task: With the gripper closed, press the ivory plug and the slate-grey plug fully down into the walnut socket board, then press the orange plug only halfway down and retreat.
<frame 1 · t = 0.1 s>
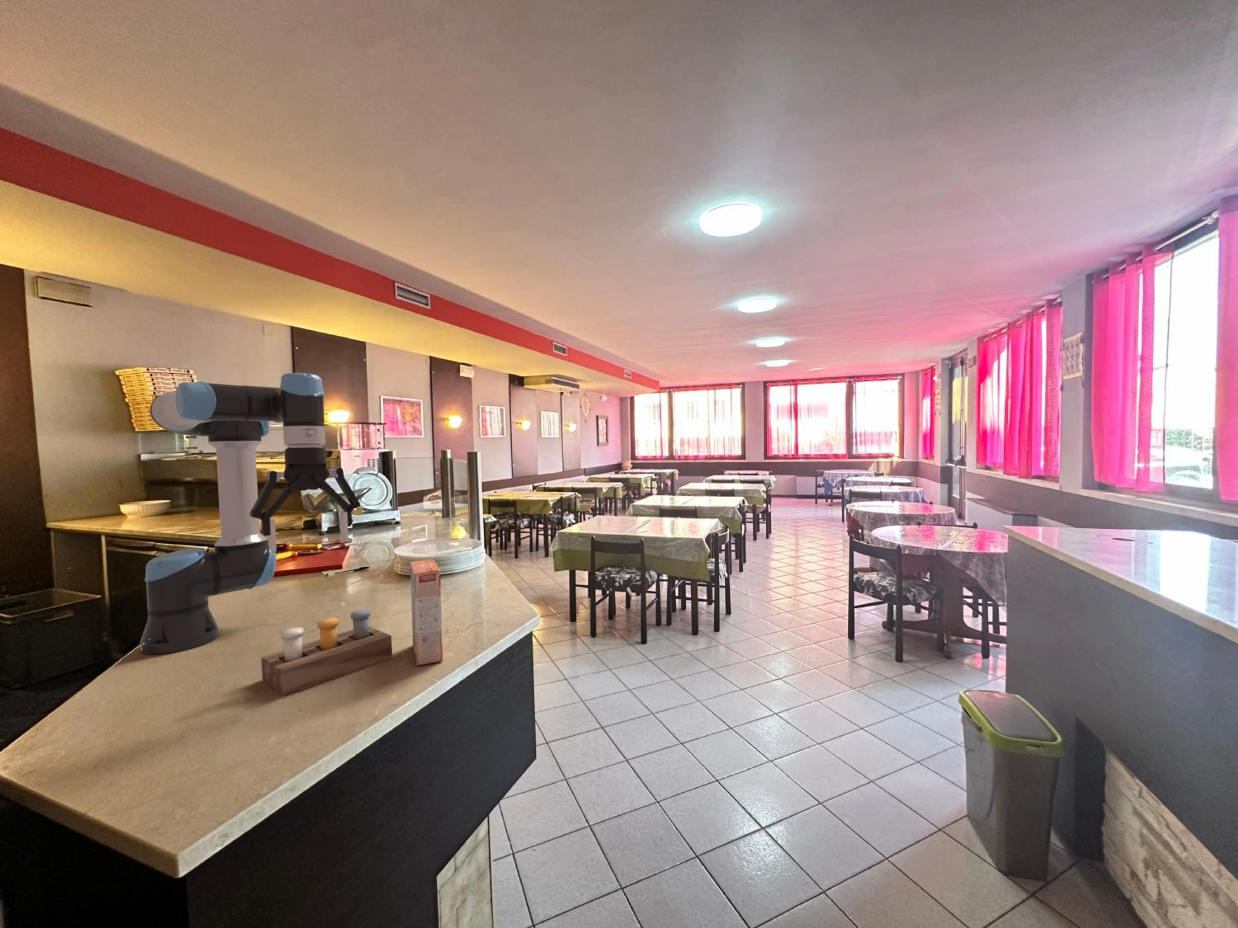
hand: (310, 545, 107), 28 cm above the counter, fingers open, 13 cm apart
orange plug: (328, 636, 110), point 7 cm above the counter, slide at 0.0 cm
socket board: (330, 667, 110), on the counter
ivory plug: (293, 647, 105), point 7 cm above the counter, slide at 0.0 cm
cracker box: (427, 653, 117), on the counter
slate plug: (361, 627, 116), point 7 cm above the counter, slide at 0.0 cm
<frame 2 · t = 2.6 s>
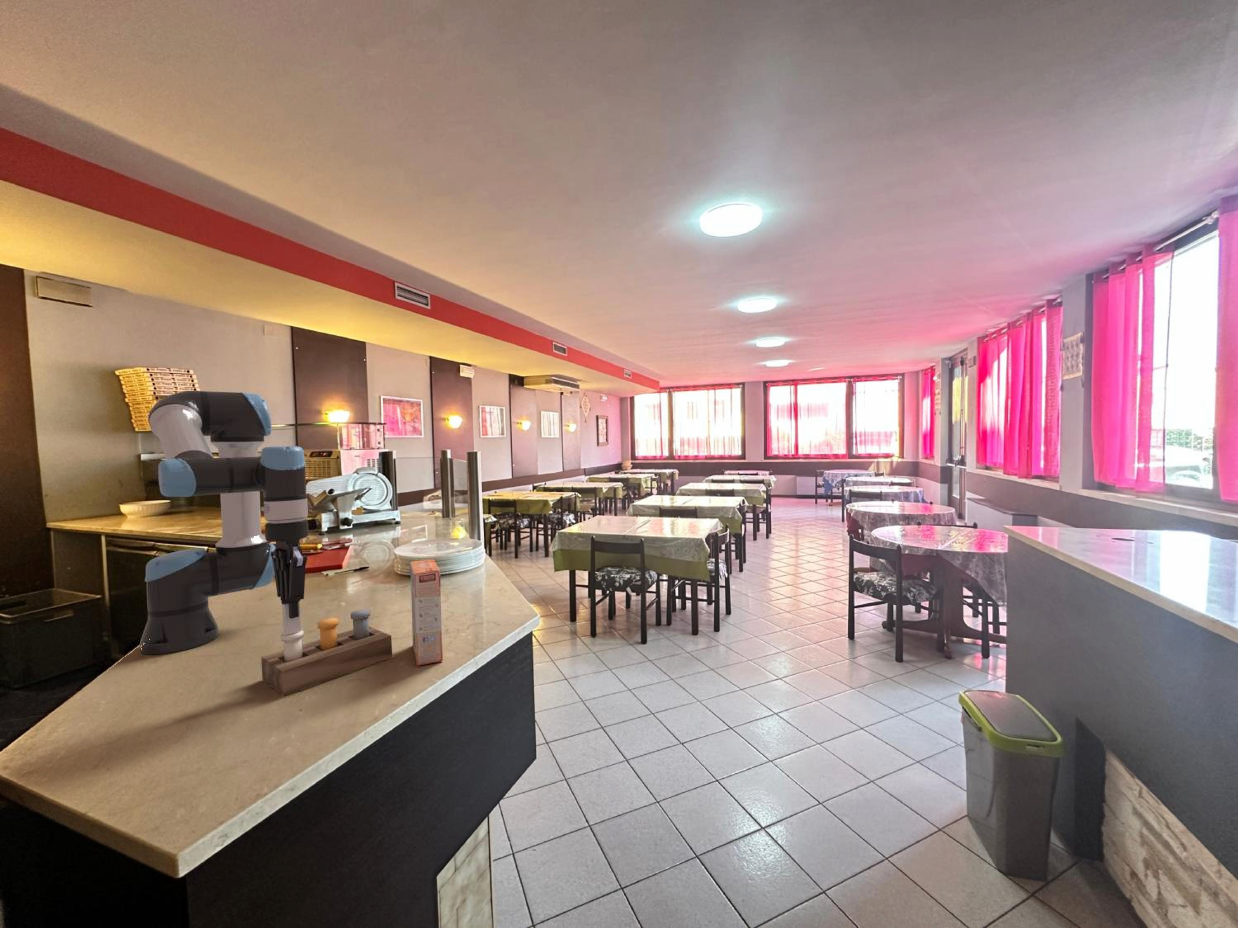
hand: (292, 631, 104), 10 cm above the counter, fingers closed
ivory plug: (293, 649, 105), point 7 cm above the counter, slide at 0.5 cm, touching gripper
everything else where it was.
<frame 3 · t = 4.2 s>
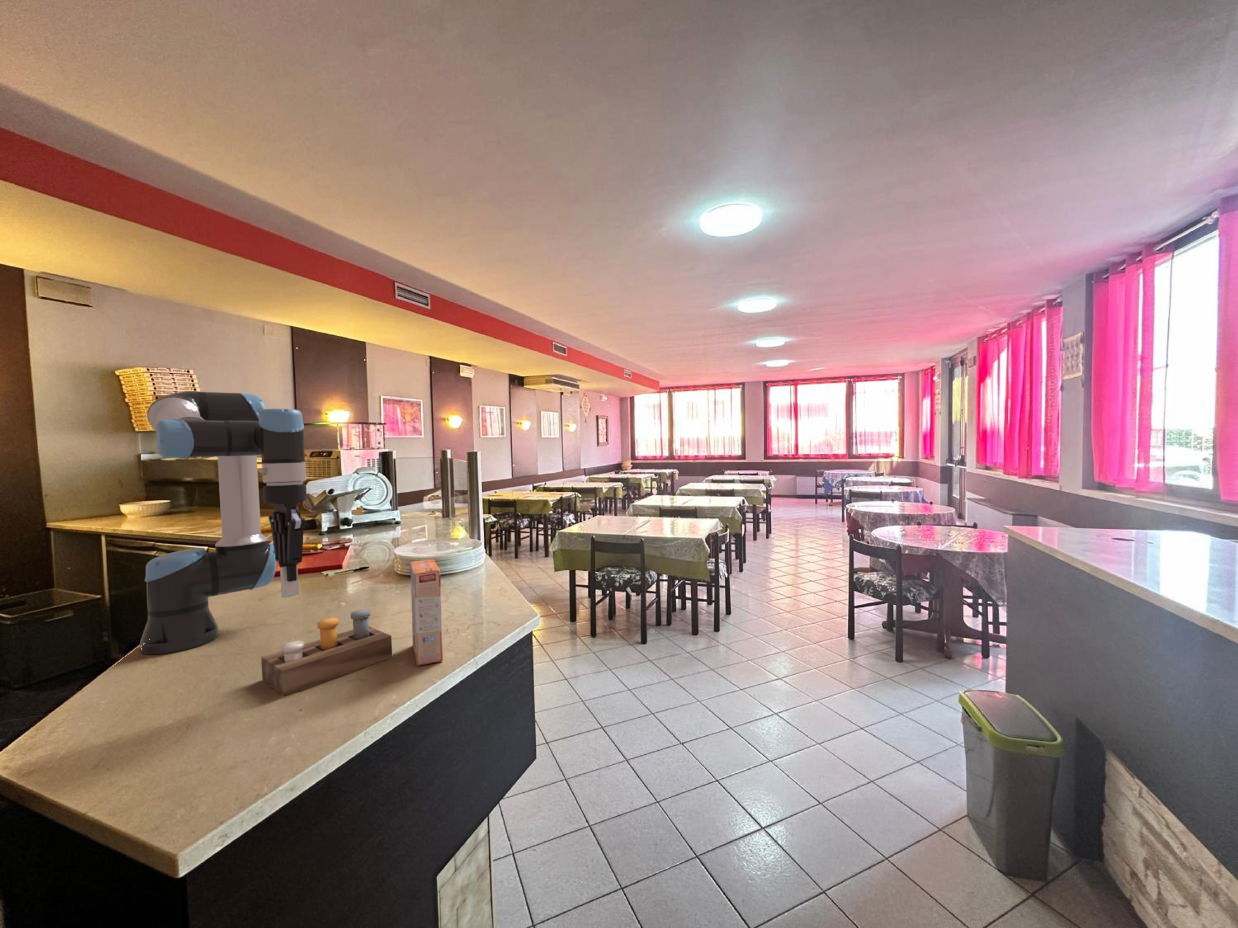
hand: (290, 595, 104), 18 cm above the counter, fingers closed
ivory plug: (293, 660, 105), point 4 cm above the counter, slide at 2.9 cm
everything else where it was.
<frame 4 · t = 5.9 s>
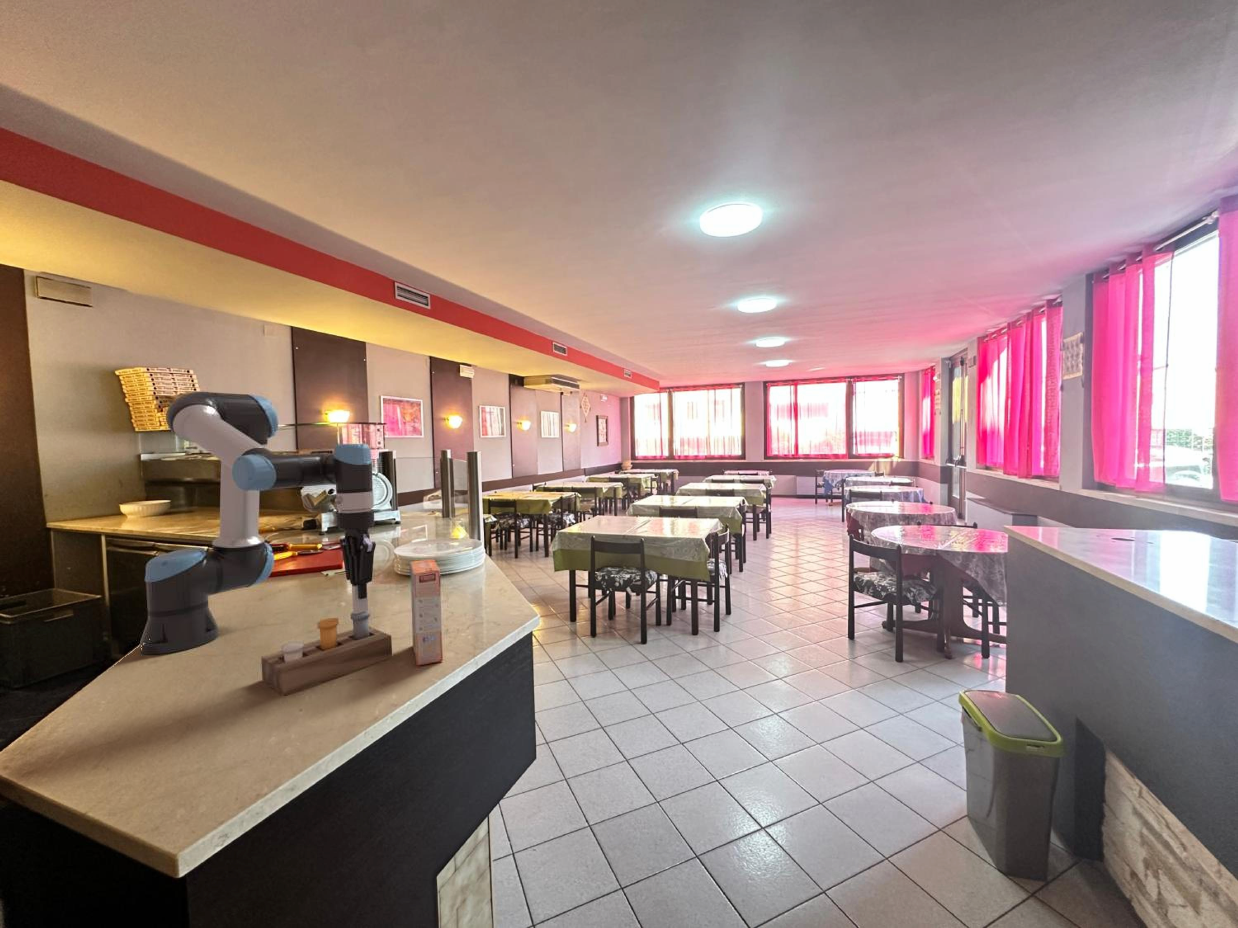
hand: (360, 611, 115), 11 cm above the counter, fingers closed
slate plug: (361, 627, 116), point 7 cm above the counter, slide at 0.1 cm, touching gripper
everything else where it was.
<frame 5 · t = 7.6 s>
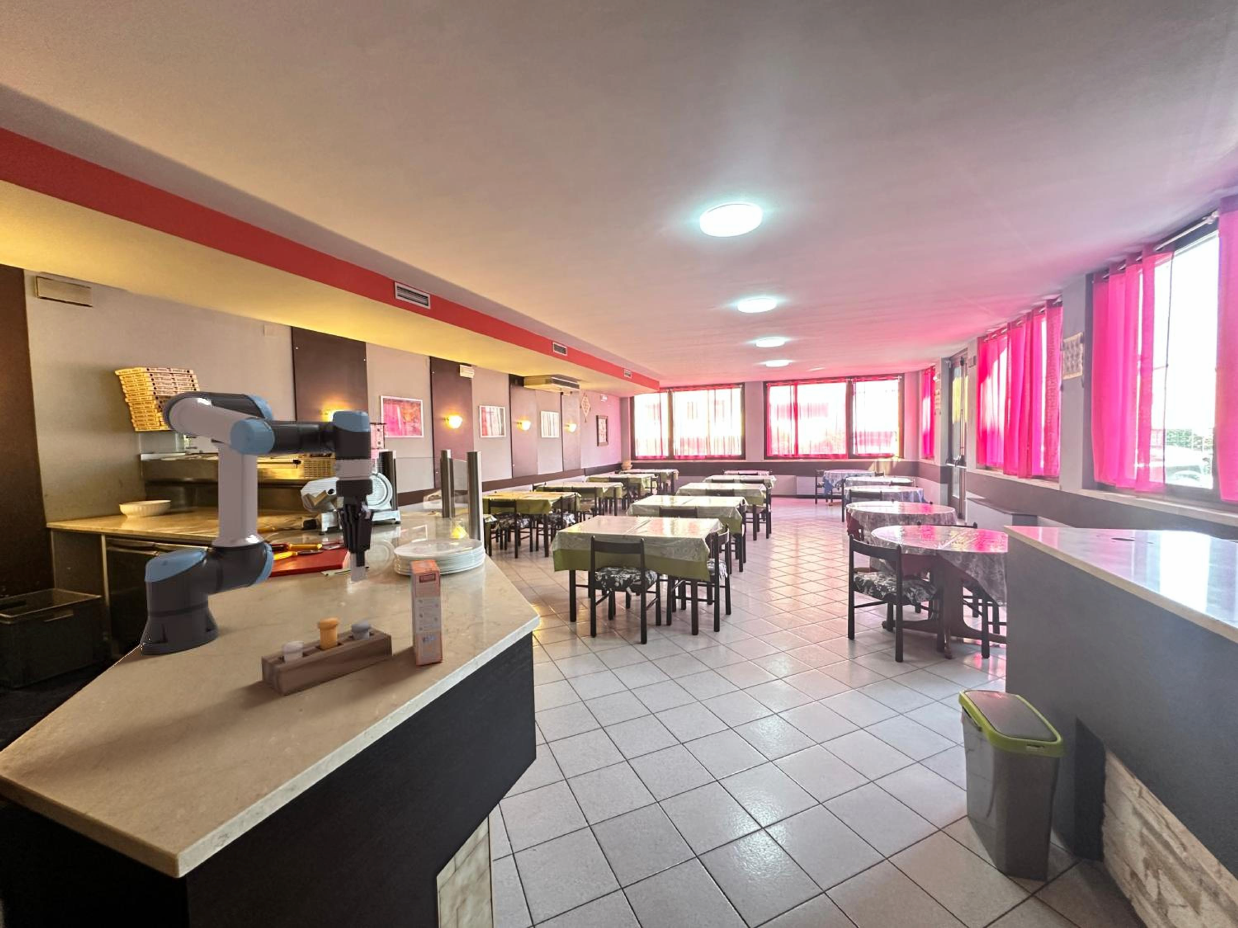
hand: (358, 579, 115), 18 cm above the counter, fingers closed
slate plug: (361, 639, 116), point 4 cm above the counter, slide at 2.9 cm
everything else where it was.
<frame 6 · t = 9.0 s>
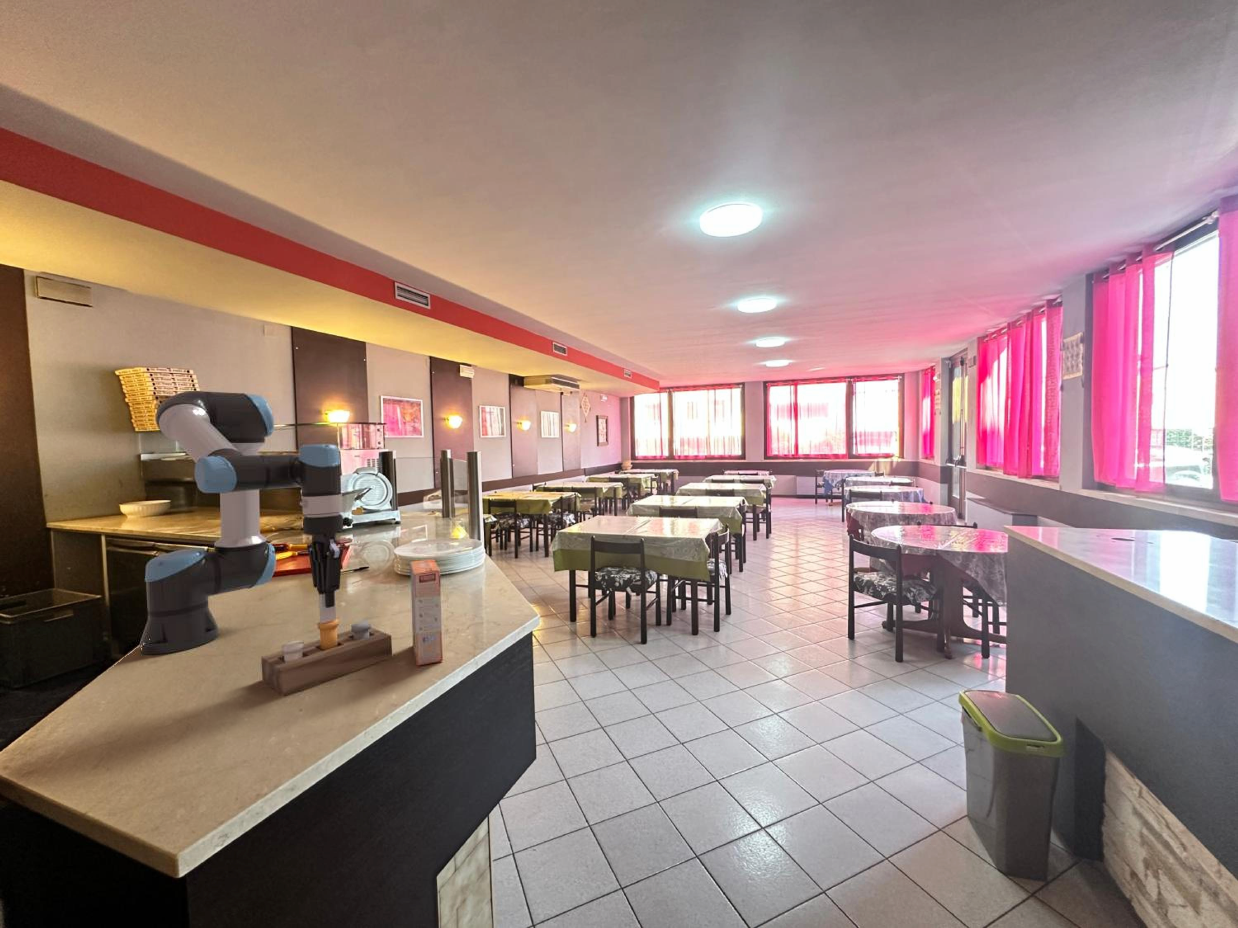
hand: (328, 620, 110), 11 cm above the counter, fingers closed
orange plug: (328, 637, 110), point 7 cm above the counter, slide at 0.2 cm, touching gripper
everything else where it was.
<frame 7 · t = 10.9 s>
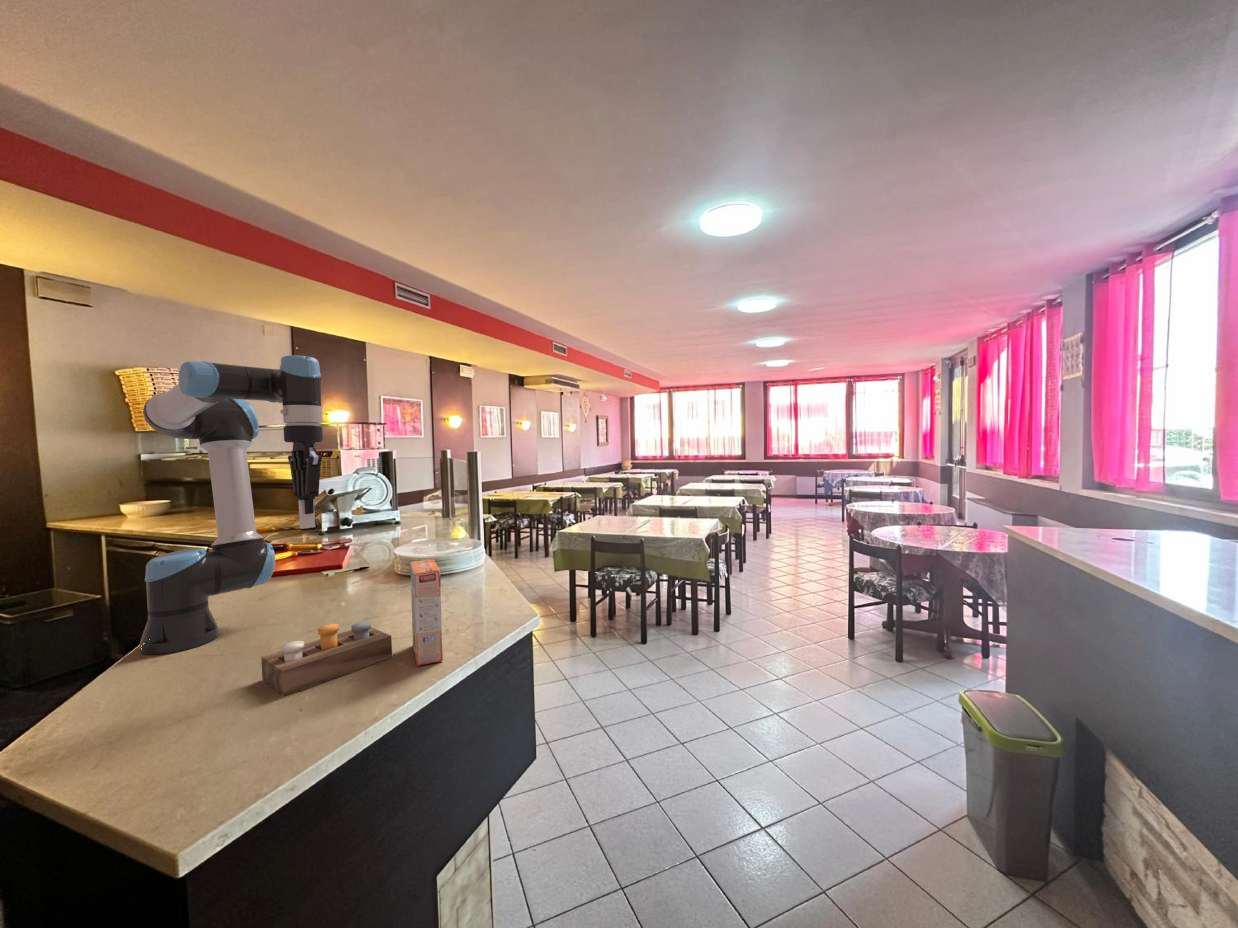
hand: (307, 527, 115), 31 cm above the counter, fingers closed
orange plug: (329, 642, 110), point 6 cm above the counter, slide at 1.3 cm
everything else where it was.
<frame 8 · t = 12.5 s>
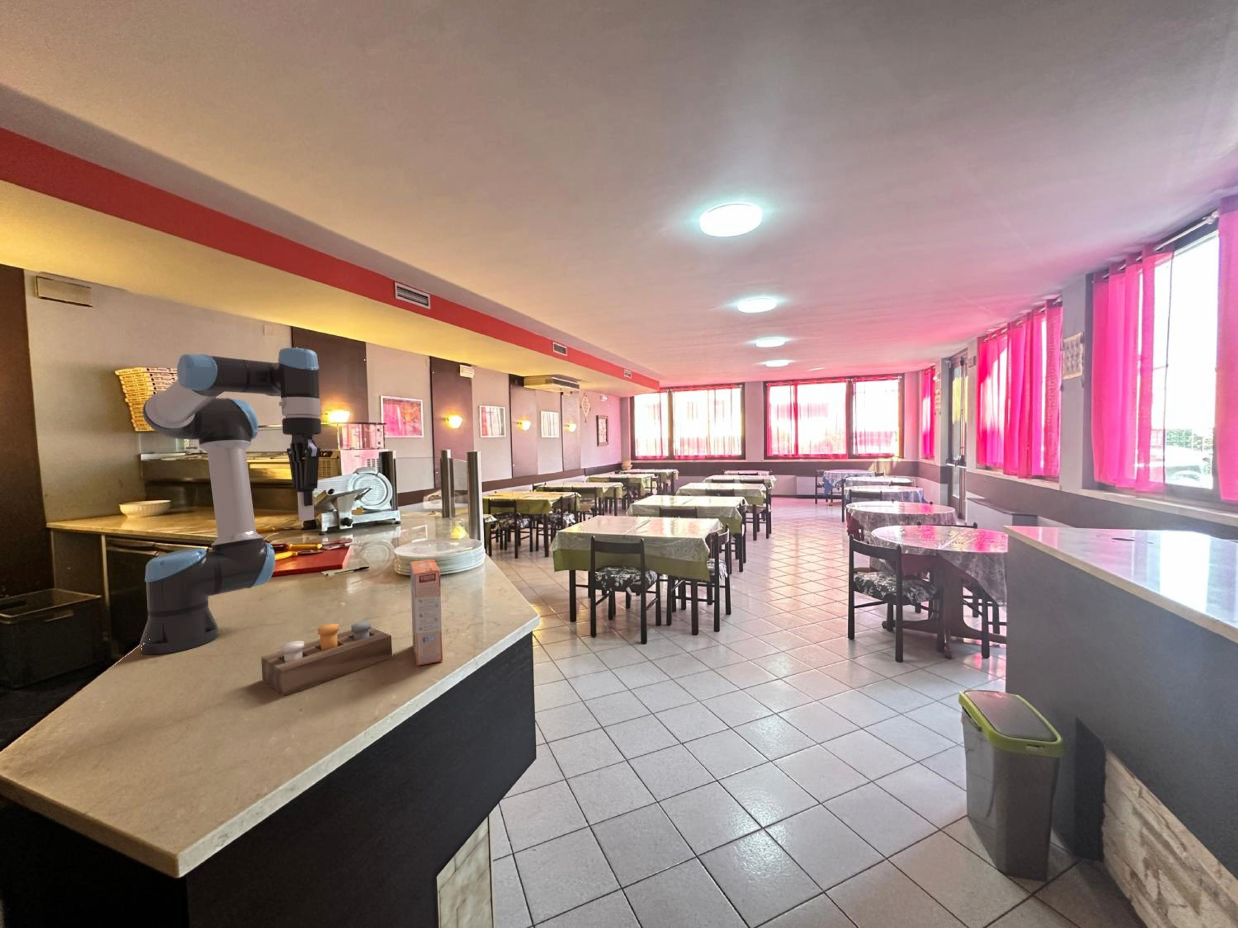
hand: (306, 519, 115), 32 cm above the counter, fingers closed
nothing on the counter moved.
at the end: ivory plug slide at 2.9 cm; slate plug slide at 2.9 cm; orange plug slide at 1.3 cm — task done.
